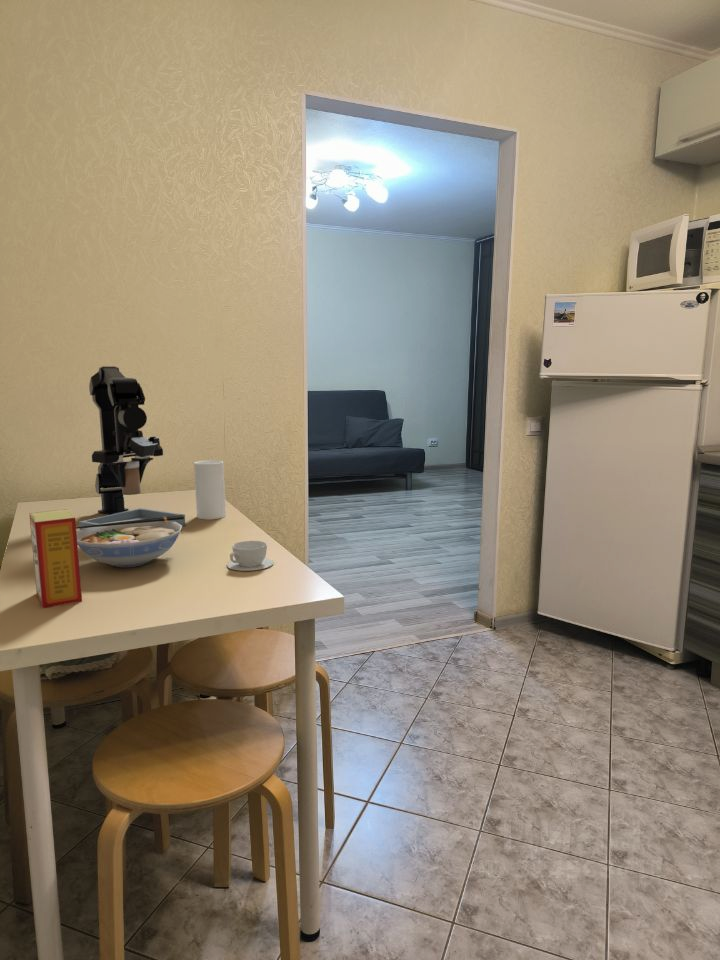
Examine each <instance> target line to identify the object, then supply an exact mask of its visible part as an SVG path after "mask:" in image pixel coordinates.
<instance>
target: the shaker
mask: <svg viewBox="0 0 720 960" xmlns="http://www.w3.org/2000/svg"><path fill="white" fill-rule="evenodd" d="M123 462H127V464H126V466H125V468H124V469H125V487H122V493H123V496H124V495H125V496H135V495H139V494H141V493H142V489H141V484H140V474H139V461H132V460H123Z"/></svg>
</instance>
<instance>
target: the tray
mask: <svg viewBox="0 0 720 960" xmlns="http://www.w3.org/2000/svg"><path fill="white" fill-rule="evenodd" d="M175 515H183V516H184V519H180V520H169V521H172V522H177V523H178V524H180V525H182V527H184V526H186V515H185V514H183V513H176V512H170V511H164V510H156V509H149V508H142V507H139V508H134V509H131V510H128V511H123V512H119V513H114V514H106V515H104V516H103V515H102V516H97V517H95V518H90V519H85V520H80V521H78V524H79V526H78V527H82V526H90V525H98V524H103V523H109V522H116V521H124V520H141V519H150V518H158V517H166V516H175ZM81 529H84V528H79V530H81Z"/></svg>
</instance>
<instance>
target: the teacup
mask: <svg viewBox="0 0 720 960" xmlns="http://www.w3.org/2000/svg"><path fill="white" fill-rule="evenodd" d="M231 549H232V552H231V553H230V555H229V560H230V561H229V562H227V564H226V567H227V568H229V569H230V570H234V571H243V572H246V571H247V572H250V571H258V570H263V569H264V570H265V569H266V568H270V567H271V566H273V565H274V561H273V560H272V559H269V558H266V555H267V550H268V544H267V542H265V541H262V540H243V541H238V542H236V543H233V544H232V546H231Z"/></svg>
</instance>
